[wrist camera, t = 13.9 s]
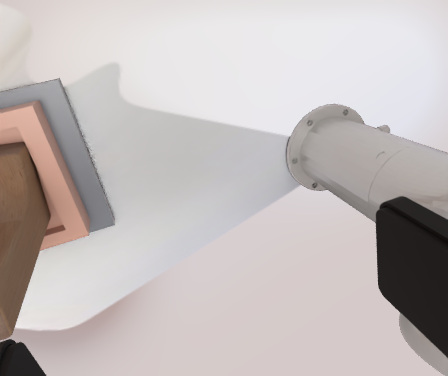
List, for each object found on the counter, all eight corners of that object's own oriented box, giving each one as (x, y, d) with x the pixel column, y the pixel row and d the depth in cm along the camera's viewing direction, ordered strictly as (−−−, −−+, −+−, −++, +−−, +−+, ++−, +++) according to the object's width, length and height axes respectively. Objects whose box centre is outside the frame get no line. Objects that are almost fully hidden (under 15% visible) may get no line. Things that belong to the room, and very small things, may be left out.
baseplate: (59, 78, 37) (53, 83, 33) (114, 219, 45) (115, 238, 41) (-108, 116, 34) (-140, 127, 30) (-17, 260, 42) (-32, 285, 38)
